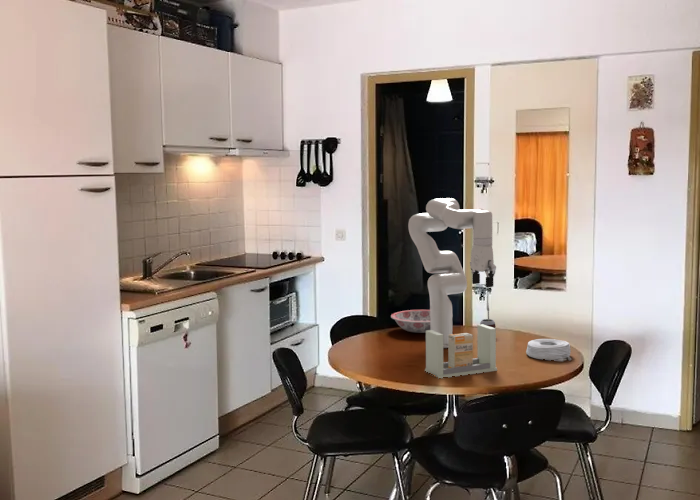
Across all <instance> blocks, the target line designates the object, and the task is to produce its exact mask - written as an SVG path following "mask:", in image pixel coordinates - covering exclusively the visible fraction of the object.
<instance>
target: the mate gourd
mask: <svg viewBox="0 0 700 500" xmlns="http://www.w3.org/2000/svg"><path fill="white" fill-rule="evenodd" d="M486 305H487V318H483V319H481V320H480V323H479V325H480V324H484V325H487V326H490V327H493V328H496V326H497V325H496V322H495V320H493V319H490V306H489V305H490V304H489V302H487V303H486Z"/></svg>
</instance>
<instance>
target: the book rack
mask: <svg viewBox="0 0 700 500" xmlns="http://www.w3.org/2000/svg"><path fill="white" fill-rule="evenodd" d="M476 326H477V327H476V328H477V329H476V330H477V333H476V334H477V342H476V343H477V345H476V346H477V347H476V348H477V357H475V358H474V357H473V365H469V366H461V367H454V368H448V361H444V348H443V334H440V333H438V332H435V331H433V330H426V333H425V368H424V372H425V371H426V372H425V373H427V372H428V373H427V374H429V373H431V374H433V375H435V376H436V377H435V376H434V377H435V378H437V377H438V378H437V379H439V378H441V379H444V378H443V377H448V378H453V377H452V376H455V377H461V376H460V375H462V376H469V375H468V374H470V375H476V373H477V374H483V372H484V373H490V372H496V371H498V367H497V365H496V364H497V363H496V362H497V359H496V358H497V357H496V356H497V353H496V352H497V350H496V349H497V348H496V347H497V346H496V345H497V343H496V342H497V338H496V336H497V335H496V334H497V333H496V331H497V328H496V327H495V328H493V327H490V326H487V325H484V324H480V323H479V324H477V325H476ZM431 374H430V375H431ZM433 375H432V376H433Z"/></svg>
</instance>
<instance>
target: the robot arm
mask: <svg viewBox="0 0 700 500" xmlns="http://www.w3.org/2000/svg"><path fill="white" fill-rule="evenodd" d="M460 208H461V207H460V204H459V202H458V200H456V199H455V198H452V197H451V198H450V197H446V198H443V197H442V198H441V197H440V198H434V199H431V200H429V201H428V202H427V204H426V205H425V211H426V212H422V213H416V214H413V215H412V216H410V218H409V219H408V232H409V235H410V239H411V240H412V242H413V243H414V245H415V246H416V248H417V251H418V254H419V256H420V259H421V262H422V265H423V267H424V270H425V271H426V272H427V273H429V274H432V275H431V276H430V277H429V278H428V280H427V289H428V290H427V291H428V294H429V310H430V330H433V331H435V332H438V333H440V334H443V349H447V348H448V335H450V334H453V317H452V316H453V304H452V301H451V300H450V297H449V296H448V295H457V294H461V293H464V292H465V291H466V290H467V287H468V282H467V281H468V280H467V277H466V274H465V272H464V269H463V267H462V264H461V261H460V260H459V257H458V255H457V254H456V253H455V252H454V251H452V250H440V249H439V248H438V245H437V243H436V240H434V238H433V237H432V236H431V235H429V234H428V232H429V233H431V232H432V233H433V232H442V231H445V230H447V228H448V227H449V228H452V229H455V230H464V229H472V247H471V252H470V253H471V254H470V261H469V266H470V270H471V275H472V277H471V284H473V285H478V284H480V283H481V275H480V273H481V272H482V273H484V274H485V275H486V277H485V288H493V287H494V277H495V274H496V270H497V266H496V265H495V263H494V262H495V261H494V251H493V213H492V211H490V210H482V209H460Z"/></svg>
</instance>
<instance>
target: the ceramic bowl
mask: <svg viewBox="0 0 700 500" xmlns="http://www.w3.org/2000/svg"><path fill="white" fill-rule="evenodd" d="M453 316H454V315H452V318H453ZM390 318H391V319H392V320H394V321H395V322H396V324H397V325H398V326H399V327H400V328H401V329H402V330H404V331H407V332H410V333H416V334H417V333H418V334H426V330H430V309H410V310H409V309H407V310H402V311H401V310H400V311H397V312H393V313H391V315H390Z"/></svg>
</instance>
